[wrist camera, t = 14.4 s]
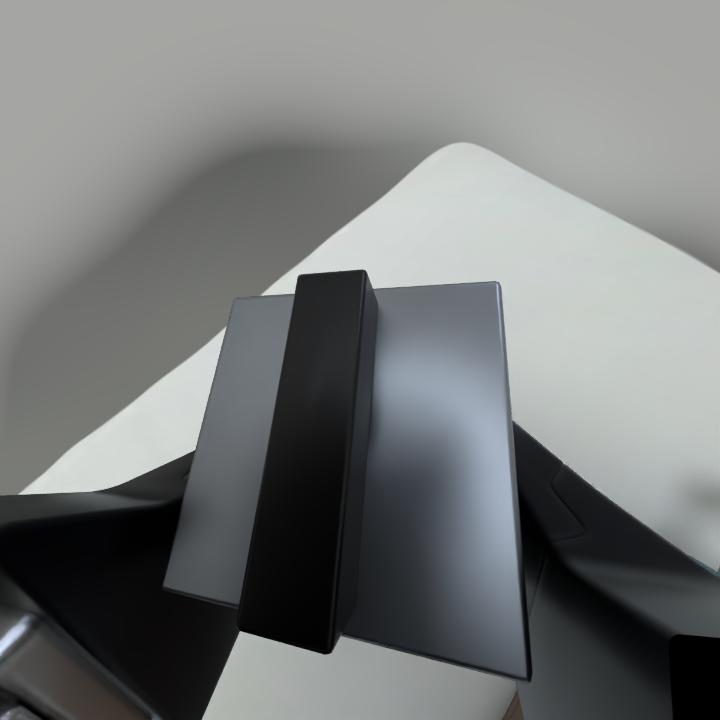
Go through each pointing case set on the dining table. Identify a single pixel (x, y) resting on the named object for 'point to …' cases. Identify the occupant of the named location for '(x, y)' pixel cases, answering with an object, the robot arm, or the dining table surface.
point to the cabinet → (514, 710)
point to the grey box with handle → (362, 475)
